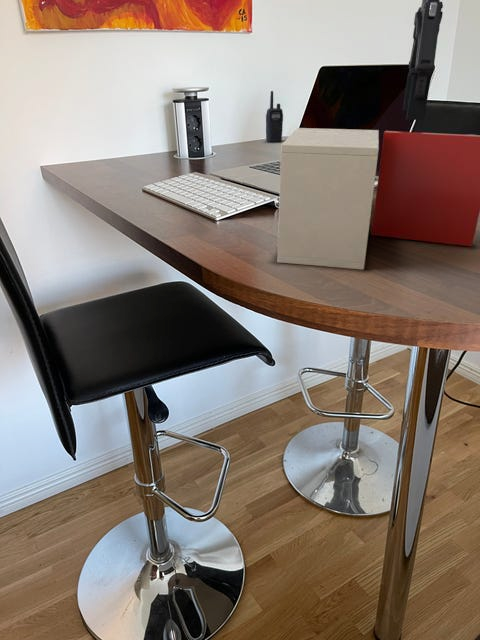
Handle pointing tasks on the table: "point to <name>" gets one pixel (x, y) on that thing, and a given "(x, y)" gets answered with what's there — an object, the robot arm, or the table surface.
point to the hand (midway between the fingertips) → (412, 115)
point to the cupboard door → (428, 187)
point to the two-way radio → (274, 122)
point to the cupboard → (326, 196)
